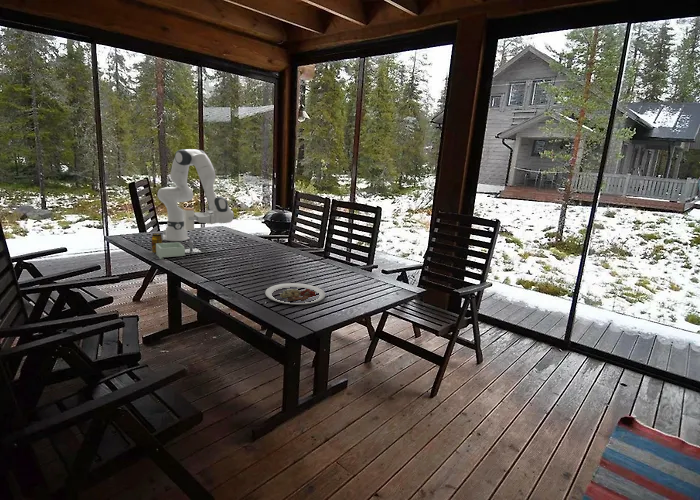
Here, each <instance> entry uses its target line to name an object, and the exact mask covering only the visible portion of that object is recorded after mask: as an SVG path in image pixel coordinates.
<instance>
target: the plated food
mask: <svg viewBox="0 0 700 500" xmlns="http://www.w3.org/2000/svg"><path fill="white" fill-rule="evenodd" d="M290 287H297V288H305V289H306V288H307V289H306V290H302V291H300V290H298V289H287V290H285V291H283V293H279V294H280V297H282V298H288V299H287V301H296V300H301V301H304V300H306V299H308V297H312V296H316V294H315V293H316V292H317V293H319V295H320V296H319V298H318V299H316V300H314V301H311V302H305V303H290V302H284V301H280V300H277V299H275V298H274V297H273V296H272V293H273V292H274V291H276V290H278V289H282V288H290ZM310 289H311V290H314V291H311V290H310ZM315 291H316V292H315ZM264 293H265V295H266V297H267V298H268V299H270V300H271V301H275V302H278V303H282V304H286V305H287V304H289V305H308V304H314V303H315V304H316V303H318V302H320V301H323V299H325V297H326V292H325V291H324V290H323V289H322V288H320V287H317V286H315V285H311V284H305V283H299V282H297V283H296V282H292V283H291V282H286V283H279V284H275V285H271V286H270V287H267V289H266V290H265V292H264ZM299 296H303V297H299Z"/></svg>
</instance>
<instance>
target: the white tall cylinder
mask: <svg viewBox="0 0 700 500" xmlns="http://www.w3.org/2000/svg"><path fill="white" fill-rule="evenodd" d="M183 210H184V229H185V230H187V231H195V220H189V217H194V212H195V208H193V207H183Z"/></svg>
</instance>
